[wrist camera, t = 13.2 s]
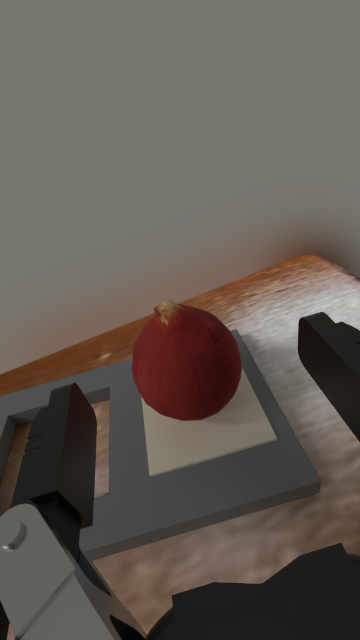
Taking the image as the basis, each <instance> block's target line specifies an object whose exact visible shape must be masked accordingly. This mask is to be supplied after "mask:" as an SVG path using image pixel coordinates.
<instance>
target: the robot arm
mask: <svg viewBox="0 0 360 640" xmlns="http://www.w3.org/2000/svg"><path fill="white" fill-rule="evenodd" d="M298 354H299V357H300V360H301V362H302V364H303V366H304V367H305V369H306V370H307V371H308V373H309V374H310V375H311V377H312V378H313V379H314V381H315V382H316V383H317V385H318V386H319V388H320V389H321V390H322V392H323V393H324V394H325V396H326V397H327V398H328V400H329V401H330V402H331V404H332V405H333V406H334V408H335V409H336V411H337V412H338V413H339V415H340V416H341V417H342V419H343V420H344V421H345V423H346V424H347V425H348V427H349V428H350V429H351V431H352V432H353V433H354V435H355V436H356V438H357V439H358V440H359V442H360V331H359V330H358V329H356V328H354V327H352V326H350V325H348V324H346V323H344V322H339V323H335V322H334V321H333V320H332V319H331V318H330V317H329V316H328V315H327V314H325V313H324V312H320V313H316V314H313V315H309V316H306V317H302V318H300V320H299V330H298ZM96 436H97V421H96V416H95V413H94V410H93V408H92V407H91V405H90V403H89V402H88V400H87V399H86V397H85V395H84V394H83V392H82V391H81V389H80V387H79V386H78V385H77V384H76V383H72V384H69V385H65V386H62V387H58V388H55V389H53V390H52V391H51V394H50V399H49V404H48V407H44V408H41V409H40V410H39V412H38V414H37V415H36V417H35V418H34V420H33V422H32V423H31V427H30V431H29V435H28V441H27V443H26V447H25V454H24V455H23V459H22V463H21V467H20V471H19V475H18V479H17V483H16V487H15V491H14V495H13V499H12V503H11V506H10V509H9V510H8V511H6V512H5V513H4V514H3V515H2V516H1V517H0V640H7V634H8V628H9V624H11V626H12V629H13V631H14V634H15V640H360V555H356V554H347V553H346V551H345V549H344V547H343V545H342V543H339V544H336V545H333V546H329V547H326V548H323V549H320V550H316V551H313V552H310V553H307V554H303V555H300V556H299V557H297V558H296V559H295V560H293V561H292V562H291V563H289V564H288V565H287V566H285V567H284V568H283V569H281V570H280V571H279V572H277V573H276V574H275V575H273V576H272V577H271V578H269V579H268V580H267V581H265V582H264V583H261V584H245V583H219V582H213V583H210V584H207V585H204V586H200V587H197V588H194V589H191V590H187V591H184V592H181V593H178V594H175V595H172V601H173V608H171V609H170V610H169V611H167V612H166V613H165V614H164V615H163V616H162V617H161V618H160V619H159V620H158V621H157V623H156V624H155V625H154V626H153V628H152V629H151V630H150V632H149V633H148V635H147V634H146V633H145V632H144V630H143V629H142V627H141V626H140V625H139V623H138V622H137V621H136V619H135V618H134V617H133V615H132V614H131V613H130V612H129V611H128V609H127V608H126V607H125V606H124V605H123V604H122V603H121V602H120V600H119V599H118V598H117V597H116V595H115V594H114V593H113V591H112V590H111V588H110V587H109V586H108V584H107V583H106V581H105V580H104V578H103V577H102V576H101V574H100V573H99V571H98V570H97V568H96V567H95V566H94V564H93V563H92V561H91V560H90V559H89V557H88V556H87V554H86V553H85V551H84V550H83V549H82V547H81V546H80V545H79V538H80V529H83V528H87V527H90V526H93V508H94V484H95V460H96Z"/></svg>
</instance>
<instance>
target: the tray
mask: <svg viewBox="0 0 360 640" xmlns="http://www.w3.org/2000/svg"><path fill="white" fill-rule="evenodd" d="M230 332H231V333H232V335H233V336H234V338H235V339H236V341H237V345H238V348H239V351H240V357H241V364H242V372H241V379H240V382H239V385H238V388H237V390H236V393H235V395H234V396H233V398H232V399H231V400H230V402H229V403H228V404H227V405H226V406H225V407H224V408H223V409H222V410H221V411H219V412H218V413H217V414H214V415H212V416H210V417H207V418H205V419H203V420H194V421H181V420H177V419H173V418H170V417H166V416H164V415H161V414H159V413H158V412H156V411H155V410H154V409H152V408H151V407H150V406H148V405H147V404H146V403H145V401H144V400H143V398H142V396H141V395H140V393H139V391H138V389H137V387H136V384H135V382H134V379H133V374H132V361H133V359H129V360H126V361H122V362H119V363H115V364H112V365H108V366H105V367H101V368H98V369H94V370H91V371H87V372H84V373H80V374H76V375H73V376H69V377H66V378H62V379H59V380H55V381H52V382H48V383H45V384H41V385H38V386H34V387H31V388H27V389H24V390H20V391H16V392H13V393H9V394H6V395H2V396H0V480H1V477H2V473H3V470H4V467H5V463H6V460H7V456H8V453H9V450H10V446H11V443H12V439H13V436H14V433H15V429H16V426H17V425H19V424H23V423H26V422H30V421H33V420H34V418H35V417H36V415H37V414H38V412H39V410H40V409H41V408H44V407H48V404H49V399H50V394H51V391H52V390H53V389H55V388H58V387H62V386H65V385H69V384H72V383H76V384H77V385H78V386H79V387H80V389H81V391H82V392H83V394H84V395H85V397H86V399H87V400H88V402H89V403H90V404H93V403H96V402H100V401H103V400H107V399H110V444H109V494H108V495H104V496H101V497H97V498H94V508H93V526H90V527H87V528H83V529H80V538H79V545H80V546H81V547H82V549H83V550H84V551H85V553H86V554H87V556H88V557H89V559H90V560H94V559H97V558H101V557H104V556H108V555H111V554H114V553H118V552H121V551H124V550H128V549H131V548H134V547H138V546H141V545H144V544H148V543H151V542H154V541H158V540H161V539H165V538H168V537H171V536H175V535H178V534H181V533H185V532H188V531H191V530H195V529H198V528H201V527H205V526H208V525H211V524H215V523H218V522H222V521H225V520H228V519H232V518H235V517H238V516H242V515H245V514H248V513H252V512H255V511H258V510H262V509H265V508H269V507H272V506H275V505H279V504H282V503H285V502H289V501H292V500H295V499H299V498H302V497H305V496H309V495H312V494H315V493H319V488H320V482H321V481H320V479H319V478H318V476H317V474H316V472H315V470H314V468H313V467H312V465H311V463H310V461H309V459H308V458H307V456H306V454H305V452H304V450H303V449H302V447H301V445H300V443H299V441H298V440H297V438H296V436H295V434H294V432H293V430H292V429H291V427H290V425H289V423H288V421H287V420H286V418H285V416H284V414H283V412H282V411H281V409H280V407H279V405H278V403H277V401H276V400H275V398H274V396H273V394H272V392H271V391H270V389H269V387H268V385H267V383H266V382H265V380H264V378H263V376H262V374H261V372H260V371H259V369H258V367H257V365H256V363H255V362H254V360H253V358H252V356H251V354H250V353H249V351H248V349H247V347H246V345H245V344H244V342H243V340H242V338H241V336H240V334H239V333H238V331H237V329H235V330H232V331H230Z"/></svg>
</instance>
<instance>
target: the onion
mask: <svg viewBox="0 0 360 640" xmlns="http://www.w3.org/2000/svg"><path fill="white" fill-rule="evenodd" d="M154 311H155V313H156V314H157V315H156V316H155V317H154V318H153V319H151V320H150V321H149V322H148V323H147V324H146V326H145V327H144V329H143V330H142V332H141V333H140V335H139V337H138V338H137V340H136V342H135V345H134V349H133V361H132V374H133V379H134V382H135V384H136V387H137V389H138V391H139V393H140V395H141V396H142V398H143V400H144V401H145V403H146V404H147V405H148V406H150V407H151V408H152V409H154V410H155V411H156V412H158V413H159V414H161V415H164V416H166V417H170V418H173V419H177V420H181V421H194V420H203V419H205V418H207V417H210V416H212V415H214V414H217V413H218V412H219V411H221V410H222V409H223V408H224V407H225V406H226V405H227V404H228V403H229V402H230V400H231V399H232V398H233V396H234V395H235V393H236V390H237V388H238V385H239V382H240V379H241V372H242V364H241V357H240V351H239V348H238V345H237V341H236V339H235V338H234V336H233V335H232V333H231V332H230V331H229V330H228V329H227V328H226V326H225V325H224V324H223V323H222V322H221V321H220V320H219V319H218V318H216V317H215V316H214V315H212V314H210V313H209V312H206V311H204V310H201V309H197V308H194V307H190V306H184V305H180V304H176V303H174V302H173V301H171V300H170V301H163V302H161V303H160V304H158V305H157V306H156V307H155V308H154Z"/></svg>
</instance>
